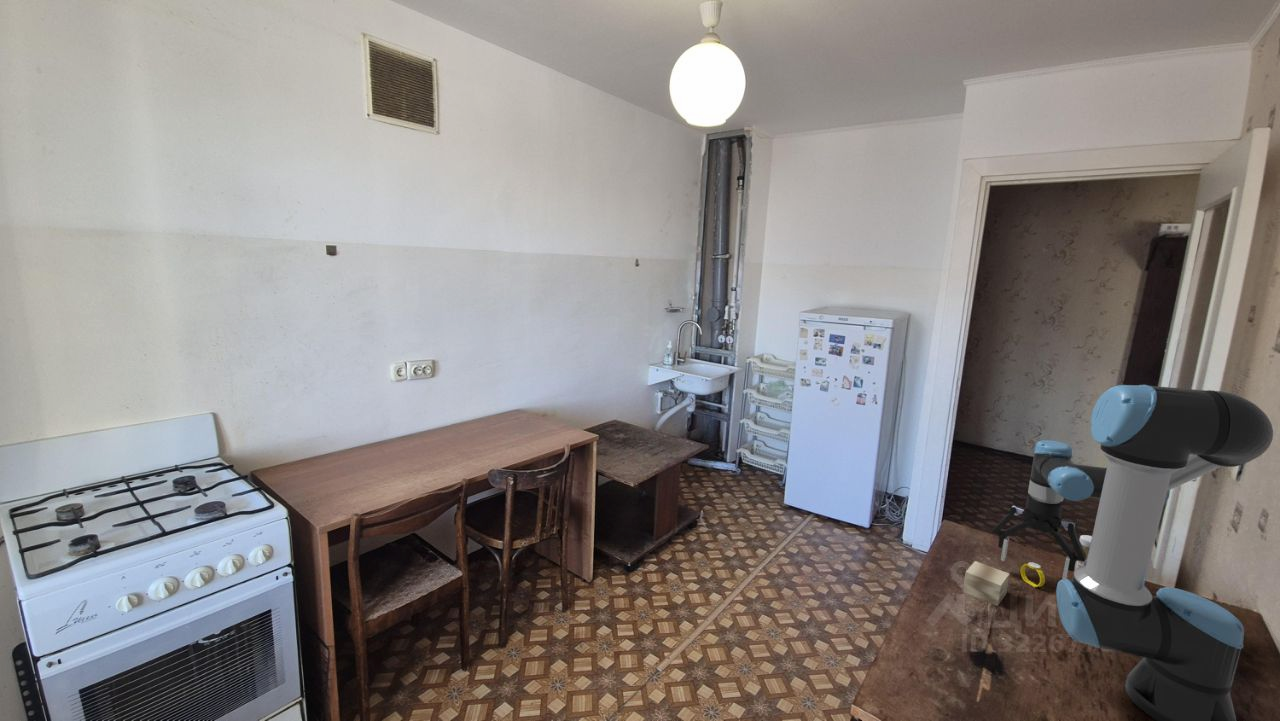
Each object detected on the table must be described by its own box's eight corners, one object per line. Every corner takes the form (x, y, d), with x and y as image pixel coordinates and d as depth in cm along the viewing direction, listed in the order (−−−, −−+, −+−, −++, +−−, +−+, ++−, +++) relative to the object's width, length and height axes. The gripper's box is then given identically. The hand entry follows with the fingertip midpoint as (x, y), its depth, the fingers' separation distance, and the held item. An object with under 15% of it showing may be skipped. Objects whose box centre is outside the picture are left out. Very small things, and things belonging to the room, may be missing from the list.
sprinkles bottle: (1076, 586, 141) (1084, 541, 139) (1069, 576, 146) (1077, 533, 143) (1097, 589, 140) (1105, 544, 137) (1089, 580, 144) (1097, 536, 142)
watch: (1044, 590, 140) (1049, 571, 138) (1036, 591, 139) (1041, 572, 138) (1024, 576, 145) (1028, 558, 144) (1016, 577, 145) (1020, 559, 143)
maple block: (1006, 594, 138) (1009, 573, 137) (997, 606, 132) (1000, 585, 131) (972, 580, 144) (975, 560, 143) (962, 592, 138) (965, 571, 137)
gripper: (1108, 509, 131) (1093, 583, 136) (993, 479, 149) (983, 546, 153) (1105, 519, 126) (1090, 596, 130) (986, 487, 144) (976, 555, 148)
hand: (1032, 569), depth 142 cm, fingers open, 13 cm apart
